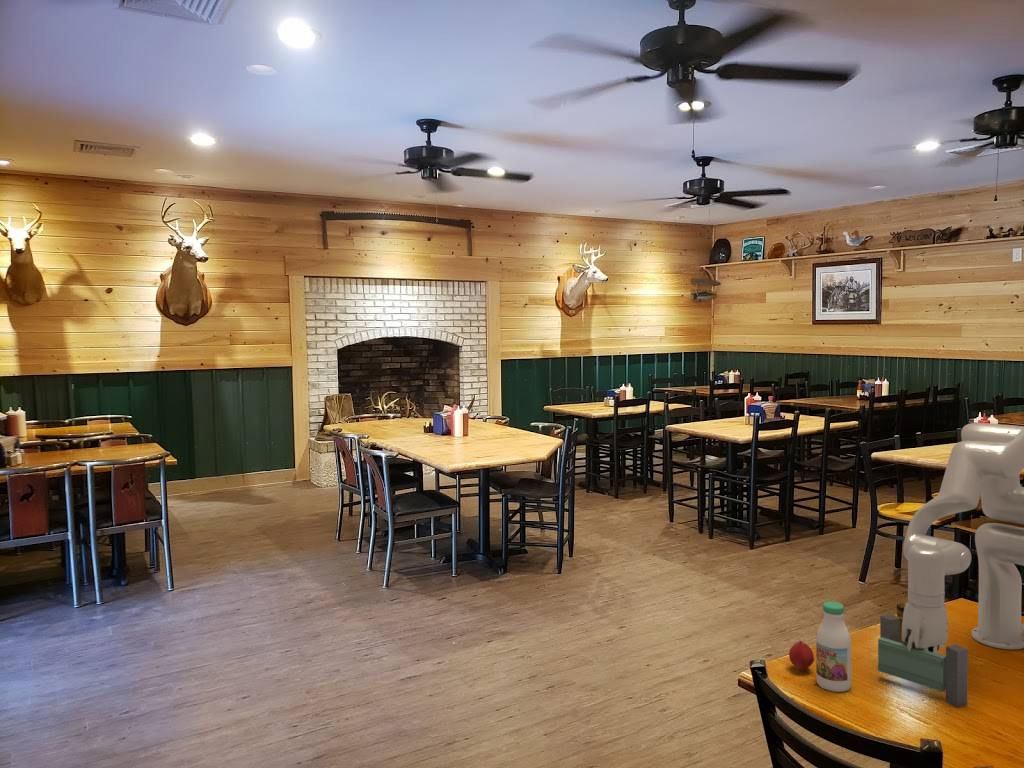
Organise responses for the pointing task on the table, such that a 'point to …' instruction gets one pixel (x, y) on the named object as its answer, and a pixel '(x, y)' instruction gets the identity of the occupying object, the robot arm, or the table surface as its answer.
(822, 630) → the milk bottle
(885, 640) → the gate
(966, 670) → the gate posts
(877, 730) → the table surface
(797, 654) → the onion
